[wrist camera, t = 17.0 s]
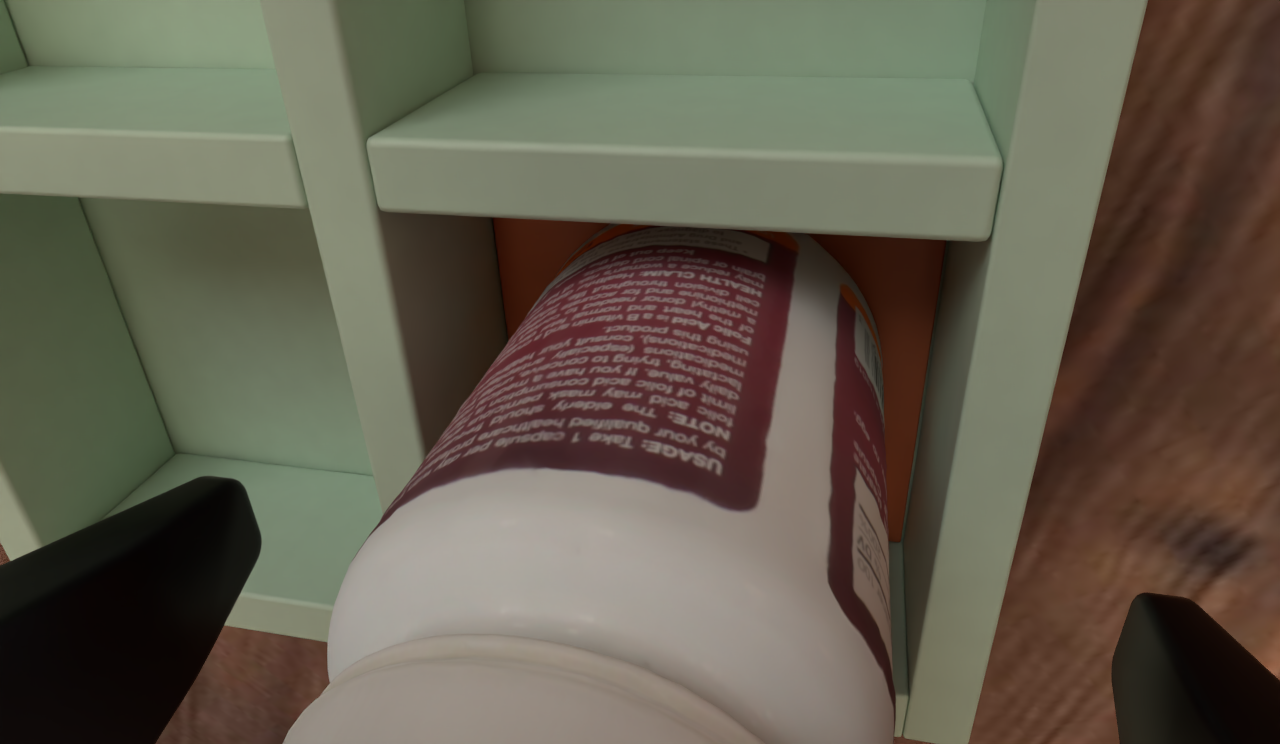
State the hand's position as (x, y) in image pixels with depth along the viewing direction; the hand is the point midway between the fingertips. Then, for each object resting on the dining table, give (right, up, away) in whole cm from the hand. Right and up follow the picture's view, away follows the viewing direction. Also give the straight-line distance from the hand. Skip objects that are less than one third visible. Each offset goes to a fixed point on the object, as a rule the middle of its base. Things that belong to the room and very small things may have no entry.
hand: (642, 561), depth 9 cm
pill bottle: (+1, +2, +4) cm, 4 cm away
